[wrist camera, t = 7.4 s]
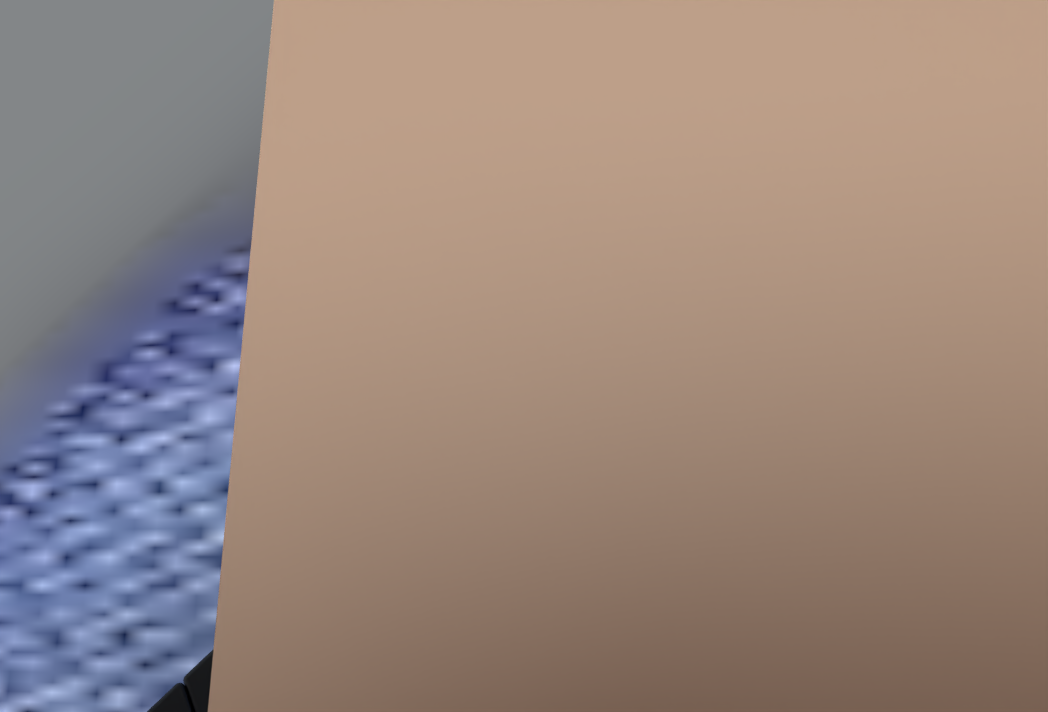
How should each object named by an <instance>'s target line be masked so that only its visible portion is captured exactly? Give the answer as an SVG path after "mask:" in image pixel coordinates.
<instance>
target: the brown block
mask: <svg viewBox="0 0 1048 712" xmlns="http://www.w3.org/2000/svg"><path fill="white" fill-rule="evenodd" d="M208 712H1048V0H274V8H273V18H272V29H271V41H270V51H269V61H268V72H267V82H266V93H265V104H264V115H263V125H262V136H261V147H260V157H259V168H258V179H257V190H256V200H255V211H254V222H253V232H252V243H251V254H250V265H249V275H248V286H247V297H246V307H245V318H244V329H243V340H242V350H241V361H240V372H239V382H238V393H237V404H236V415H235V425H234V436H233V447H232V457H231V468H230V479H229V490H228V500H227V511H226V522H225V532H224V543H223V554H222V565H221V575H220V586H219V597H218V607H217V618H216V629H215V639H214V650H213V661H212V672H211V682H210V693H209V704H208Z"/></svg>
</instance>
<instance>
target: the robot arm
mask: <svg viewBox="0 0 1048 712" xmlns="http://www.w3.org/2000/svg"><path fill="white" fill-rule="evenodd" d="M213 650H214V649H213ZM213 650H212V651H211V652H210V653H209V654H208V655H207V656H206V657H205V658H204V659H203V660H201V661H200V662H199V663H198V664H197V665H196V666H195V667H194V668H193V669H192V670H191V671H190V672H189V673H188V674H187V675H186V676H185V677H184V680H183V681H184V684H182V683H177V684H176V685H175V686H174V687H173V688H171V689H170V690H169V691H168V692H167V693H166V694H165V695H164V696H163V697H162V698H161V699H160V700H159V701H158V702H157V703H156V704H155V705H154V706H152V707H151V708H150V709H149V710H148V711H147V712H208V704H209V693H210V682H211V672H212V661H213ZM184 685H185V686H184Z"/></svg>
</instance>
